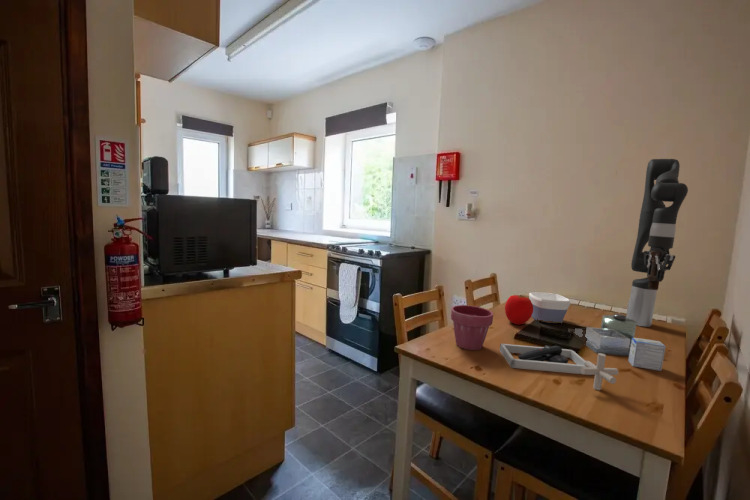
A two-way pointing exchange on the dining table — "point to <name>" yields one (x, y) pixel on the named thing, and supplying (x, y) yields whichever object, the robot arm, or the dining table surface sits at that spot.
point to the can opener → (545, 355)
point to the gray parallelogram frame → (541, 365)
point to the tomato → (518, 309)
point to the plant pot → (471, 325)
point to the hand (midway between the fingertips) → (654, 278)
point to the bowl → (549, 306)
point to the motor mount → (610, 335)
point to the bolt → (654, 272)
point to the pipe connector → (599, 371)
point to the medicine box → (646, 354)
